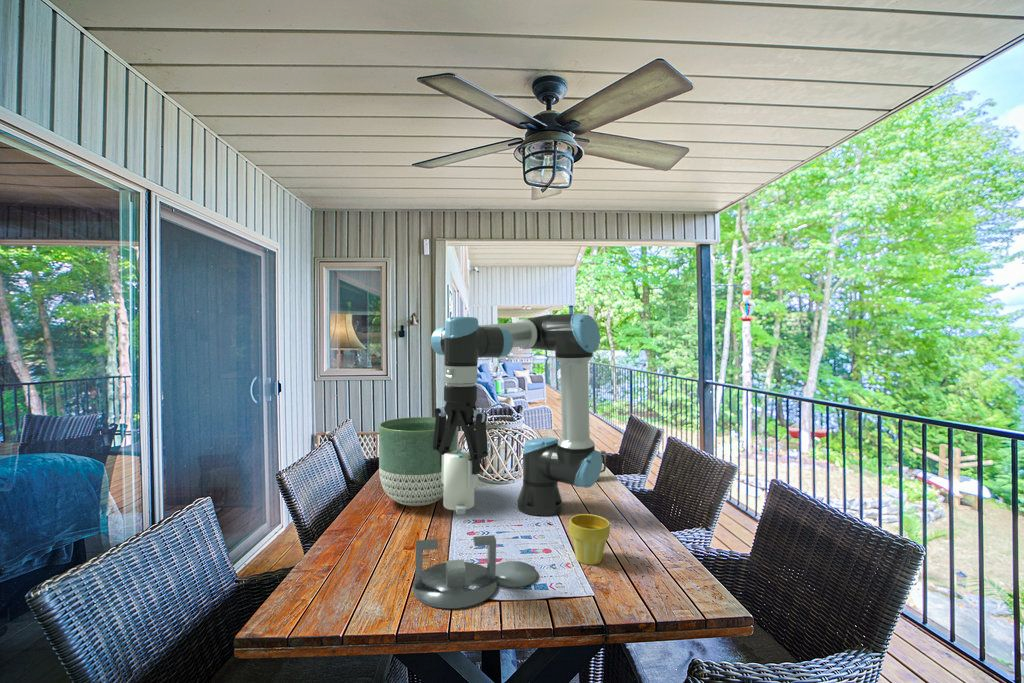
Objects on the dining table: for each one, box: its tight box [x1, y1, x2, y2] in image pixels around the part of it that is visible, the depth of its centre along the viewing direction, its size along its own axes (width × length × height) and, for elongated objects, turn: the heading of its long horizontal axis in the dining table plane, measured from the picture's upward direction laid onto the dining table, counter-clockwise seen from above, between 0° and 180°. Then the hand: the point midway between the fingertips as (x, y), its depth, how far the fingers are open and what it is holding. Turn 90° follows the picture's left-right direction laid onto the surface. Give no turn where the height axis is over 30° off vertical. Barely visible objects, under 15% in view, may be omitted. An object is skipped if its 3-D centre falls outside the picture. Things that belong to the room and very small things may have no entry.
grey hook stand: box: [412, 534, 498, 610], centre depth 105 cm, size 19×19×10 cm
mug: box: [595, 449, 607, 481], centre depth 187 cm, size 10×7×12 cm
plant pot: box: [568, 513, 611, 566], centre depth 119 cm, size 10×10×10 cm
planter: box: [378, 416, 459, 507], centre depth 158 cm, size 27×27×27 cm
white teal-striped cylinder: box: [442, 449, 475, 515], centre depth 105 cm, size 12×7×12 cm, turn 12°
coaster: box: [495, 560, 538, 589], centre depth 110 cm, size 11×11×1 cm
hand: (459, 484), depth 105 cm, fingers closed on white teal-striped cylinder, 7 cm apart
